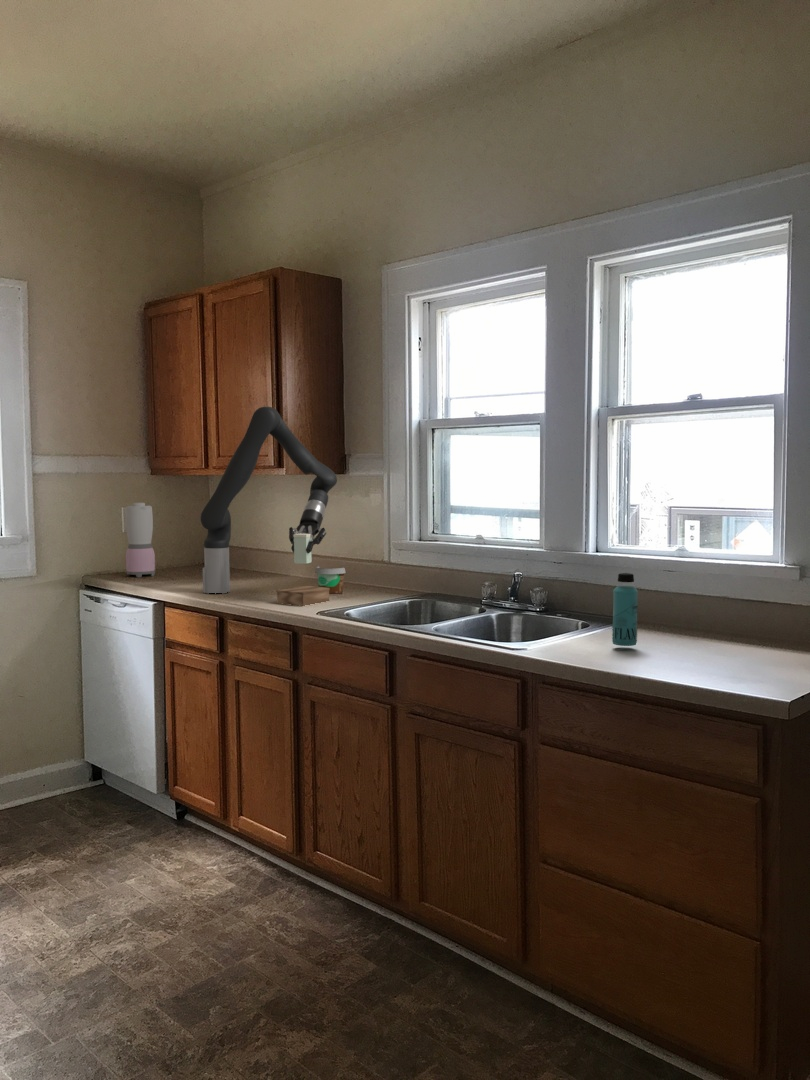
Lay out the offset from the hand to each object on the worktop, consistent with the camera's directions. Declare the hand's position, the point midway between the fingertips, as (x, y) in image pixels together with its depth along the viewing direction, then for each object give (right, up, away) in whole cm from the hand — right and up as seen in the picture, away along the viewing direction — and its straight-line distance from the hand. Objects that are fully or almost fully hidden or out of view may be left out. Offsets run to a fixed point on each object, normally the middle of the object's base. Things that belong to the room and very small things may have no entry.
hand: (300, 551), depth 309 cm
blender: (-81, -12, +82) cm, 116 cm away
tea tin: (+1, -4, +2) cm, 5 cm away
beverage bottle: (+94, -25, -77) cm, 124 cm away
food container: (+7, -16, +23) cm, 29 cm away
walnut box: (+1, -18, +3) cm, 19 cm away
